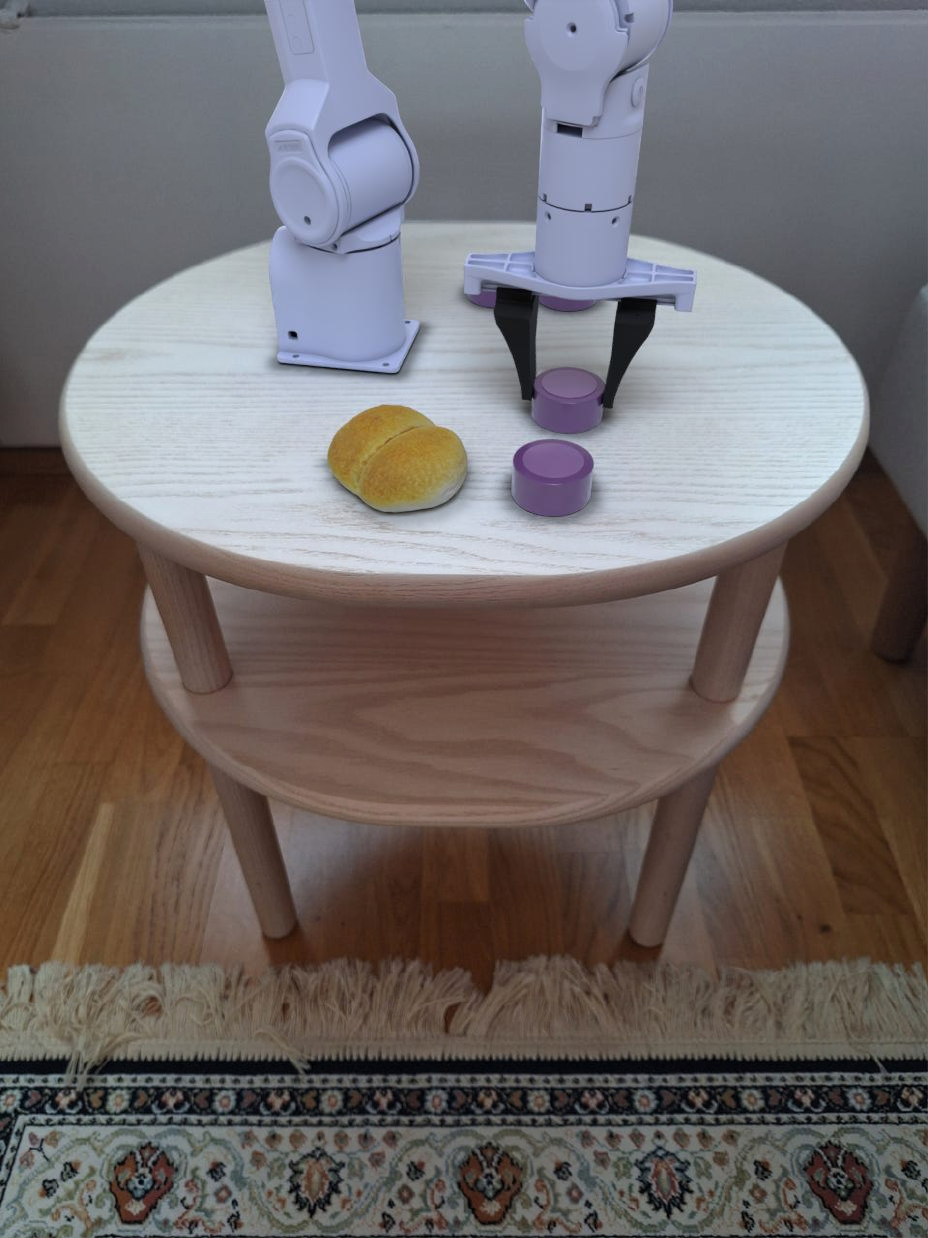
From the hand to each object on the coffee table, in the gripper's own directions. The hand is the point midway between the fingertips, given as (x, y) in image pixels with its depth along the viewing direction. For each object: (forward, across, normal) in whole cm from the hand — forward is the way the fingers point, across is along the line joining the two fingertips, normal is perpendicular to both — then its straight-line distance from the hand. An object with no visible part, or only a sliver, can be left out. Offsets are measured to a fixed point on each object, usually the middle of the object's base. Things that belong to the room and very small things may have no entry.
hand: (568, 397), depth 66 cm
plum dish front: (+1, 0, +10) cm, 10 cm away
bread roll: (+2, +10, +10) cm, 14 cm away
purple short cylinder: (+1, +8, -18) cm, 20 cm away
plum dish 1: (+1, +2, -18) cm, 19 cm away
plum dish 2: (+1, 0, 0) cm, 1 cm away
